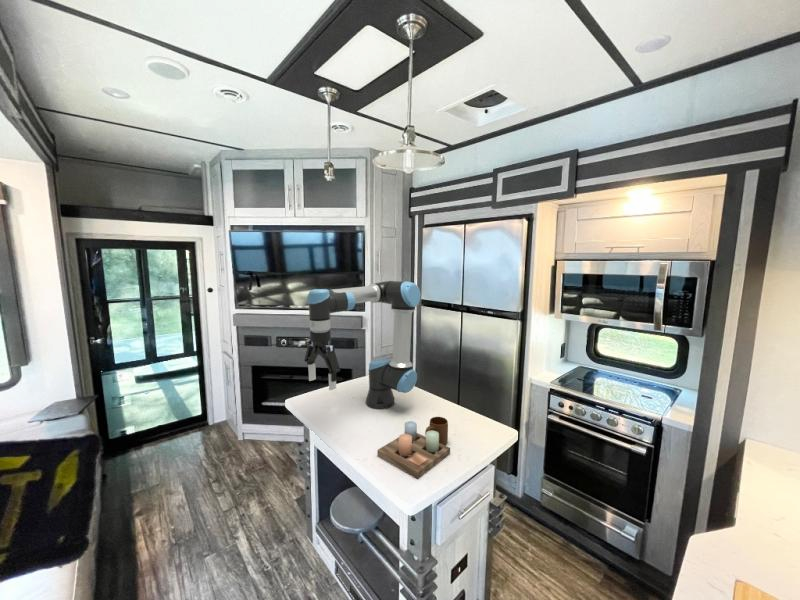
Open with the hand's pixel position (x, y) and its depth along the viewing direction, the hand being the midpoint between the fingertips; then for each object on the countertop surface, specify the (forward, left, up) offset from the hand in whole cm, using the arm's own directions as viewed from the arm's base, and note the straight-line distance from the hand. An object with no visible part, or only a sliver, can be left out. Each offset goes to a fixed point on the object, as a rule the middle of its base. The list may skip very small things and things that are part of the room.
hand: (322, 384), depth 126 cm
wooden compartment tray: (-22, +28, -27) cm, 45 cm away
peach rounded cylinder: (-18, +27, -25) cm, 41 cm away
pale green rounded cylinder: (-27, +33, -25) cm, 49 cm away
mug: (-34, +30, -28) cm, 53 cm away
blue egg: (-27, +22, -25) cm, 43 cm away
